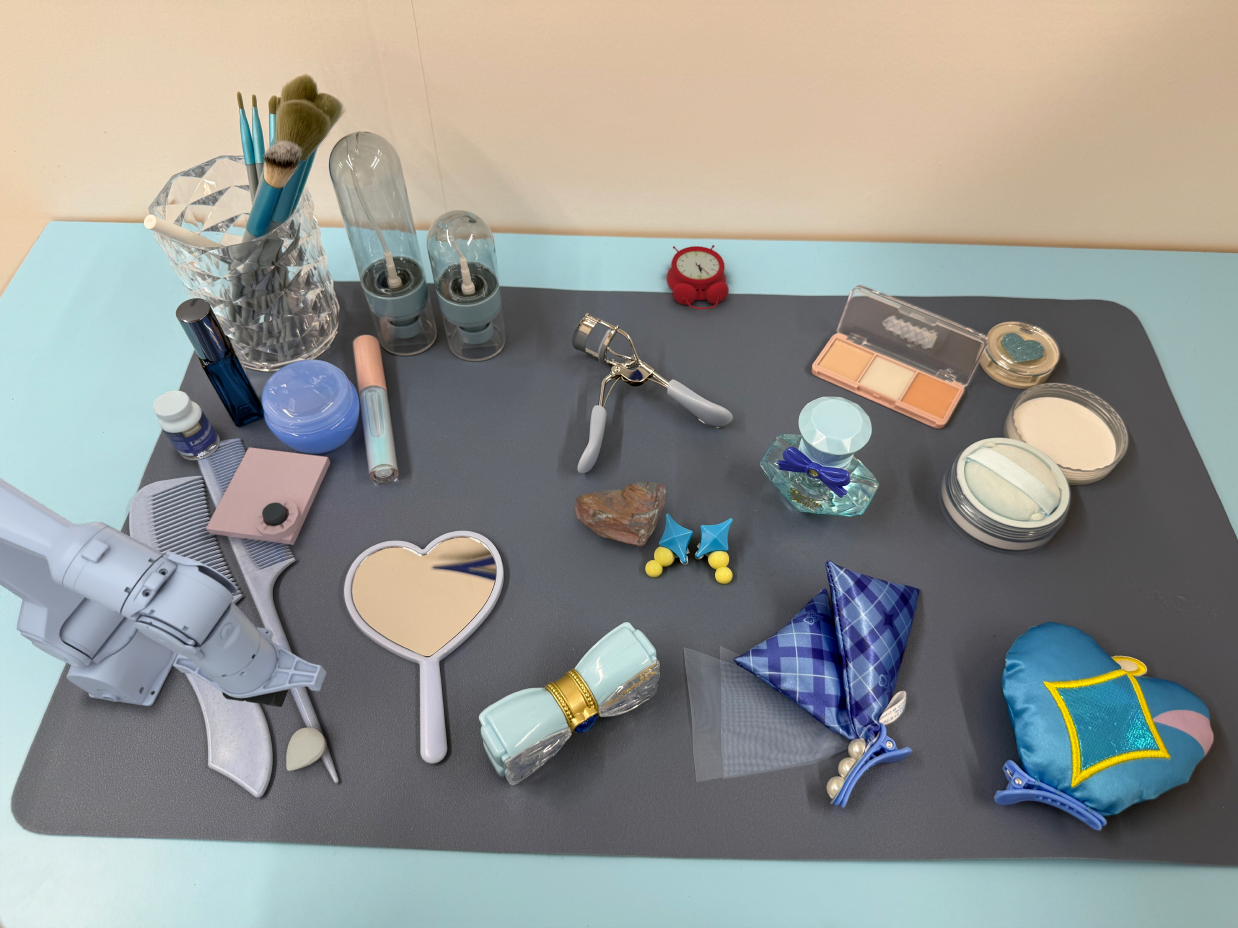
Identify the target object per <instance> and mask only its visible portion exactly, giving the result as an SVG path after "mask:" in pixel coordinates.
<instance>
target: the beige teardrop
mask: <svg viewBox="0 0 1238 928" xmlns="http://www.w3.org/2000/svg"><path fill="white" fill-rule="evenodd" d="M327 744H328V743H327V740H326V738H325V736H324V735H323V734H322V733H321V732H320V731H319V730H318V729H316V728H314V727H309V726H308V727H302V728H300V729H297V730H296V731H295V733H293V734H292V736H291V738H290V739H289V742H288V745H287V749H286V754H285V755H286V759H285V760H286V761H285V763H286V765H285V766H286V767H285V769H286V771H289V772H290V771H294V770H295V771H296V770H299V769H303V768H306V767H308V766H310V765H313V764H314V763H315V762H317V761H318V760H320V759H321V758H322V757H323V755H325V753H326V752H327V747H328V745H327Z"/></svg>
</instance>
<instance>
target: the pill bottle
mask: <svg viewBox="0 0 1238 928" xmlns="http://www.w3.org/2000/svg"><path fill="white" fill-rule="evenodd" d="M152 411H153V412H154V414H155V416H156V418H157V422H158V425H159V427H160V429H161V430H162V431H163V433H164V434H165V436H166V437H167V438H168V440H169V441H170V442H171V444H172V445H173V447H174V448H175V449H176V451H177V452H178V454H179V455H180V456H181V457H182V458H184V459H186V460H188V461H200V460H204V459H206V458H209V457H210V456H212V455H213V454H214V453H215V452H216V451H217V450H218V448H219V445H220V435H219V434H218V433H217V431H216V430H215V428H214V426H213V425H212V423H211V421H210V420H209V418H208V417H207V416H206V414H205V412H204V411H203V409H202V408H201V406H200V405H199V404H198V403H196V402H195V401H193V400H191V398H190V397H189V395H188V394H187V393H186V392H184V391H182V390H170V391H165V392H163V393H161V394H160V395H158V396H157V397H156V398H155V400H154V401H153V404H152ZM214 445H216V446H215V447H214V448H213V449H212V450H211V451H210V452H209V453H207V454H205V455H203V456H200V457H201V459H200V458H199V457H197V456H198V454H200V453H201V452H204V451H208V450H209V449H210V448H211V447H212V446H214ZM202 457H203V458H204V459H203V458H202Z"/></svg>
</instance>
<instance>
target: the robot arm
mask: <svg viewBox="0 0 1238 928" xmlns="http://www.w3.org/2000/svg"><path fill="white" fill-rule="evenodd" d="M0 586H1V587H2V588H4V589H6V590H8V591H9V592H11V593H12V594H14V595H15V596H16V597H18V598H20V599H21V605H20V609H19V614H18V618H17V623H16V630H17V631H18V632H20V636H22V637H24V638H25V639H26V640H28V641H29V642H31V644H32V646H34V647H35V648H37V649H38V650H40V651H42V652H43V653H46V654H47V655H49V656H51V657H53V658H55V659H56V660H57V659H58V660H59V661H61V662H64V663H66V664H69V665H70V668H69V670H68V672H67V674H66V679H67V680H68V681H69V682H70V683H71V684H73V685H75V686H76V687H78V688H80V689H81V690H83V691H84V692H86V693H88V696H89V697H90V698H92V699H97V700H98V699H99V700H103V701H104V700H105V701H110V702H114V703H115V702H116V703H117V702H118V703H123V704H129V705H130V704H131V705H137V706H145V707H151V706H152V705H154V703H155V701H156V699H157V698H158V696H159V694H160V692H161V689H162V687H163V685H164V683H165V681H166V680H167V678H168V675H169V674H170V671H171V670H172V668H173V667H174V668H175V669H176V670H177V671H179V672H180V673H182V674H193V675H194V676H196V677H197V678H199V679H201V680H202V681H204V682H206V683H207V684H209V685H211V686H212V687H214V688H215V689H216V690H219V691H220V692H222V693H221V695H222V696H223V698H225V699H226V700H230V701H237V702H246V703H253V704H259V705H265V706H271V707H276V708H277V707H278V708H282V707H283V705H284V703H285V700H286V697H287V695H288V693H289V690H291V689H296V688H303V687H306V688H308V689H309V690H310V691H315V692H320V691H321V690H322V687H323V683H324V681H325V678H326V676H327V671H326V670H325V669H324V667H323V666H322V665H321V664H315V663H312V662H309V661H307V660H305V659H303V658H301V657H299V656H298V655H296V654H294V653H293V652H290V651H289V650H287V649H286V648H284V647H282V646H280V645H278V644H277V643H275V642H274V641H272V640H273V637H274V632H273V631H272V629H270V628H265V627H256V626H255V625H254V623H253V622H251V620H250V619H249V618H248V616H246V614H244V612H243V611H242V610H241V609H240V608H239V607H238V606H237V605H236V604H235V602H234V600H235V598H234V595H233V594H237V593H238V592H239V589H238V587H237V585H236V584H235V583H234V582H233V581H232V580H231V579H229V578H228V577H227V576H225V575H224V574H222V573H221V572H219V571H218V570H216V569H214V568H213V567H211V566H209V565H207V564H205V563H204V562H200V561H198V560H195V559H194V558H190V557H186V556H182V555H180V554H178V553H175V552H173V551H170V550H167V551H166V552H165V553H163V552H161V551H159V550H157V549H155V548H153V547H151V546H150V545H148V544H145V543H144V542H142V541H140V540H138V539H137V538H134V537H132V536H131V535H128V534H126V533H124V532H123V531H121V530H119V529H117V528H115V527H113V526H111V525H109V524H107V523H105V522H103V521H89V522H82V523H73V522H72V521H70V520H69V519H67V518H66V517H64V516H62V515H60V514H59V513H57V512H56V511H54V510H53V509H51V508H49V507H48V506H47V505H44V504H43V503H41V502H39V501H38V500H37V499H35V498H34V497H32V496H30V495H28V494H27V493H26V492H24V491H22V490H20V489H18V488H17V487H16V486H14V485H12V484H11V483H9V482H8V481H6V480H4V479H3V478H1V477H0Z"/></svg>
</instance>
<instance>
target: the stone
mask: <svg viewBox="0 0 1238 928" xmlns="http://www.w3.org/2000/svg"><path fill="white" fill-rule="evenodd" d="M667 498H668V488H667V486H665V485H664V484H662V483H659V482H655V481H652V482H651V481H646V480H645V481H636V482H635V481H633V482H632V483H630V484H627V485H626V486H624V489H607V490H606V489H605V490H597V491H591V492H586V493H583V494H580V495H578V496H577V497H576V499H575V506H574V507H573V512H574V515H575V517H576V518H577V520H578V521H580V523H582V524H583V525H584V526H586V527H587V528H589V529H590V530H591V531H592V532H593V533H596V535H597V536H599V537H601V538H604V539H609V540H612V541H616V542H621V543H625V544H629V545H633V546H637V547H643V546H645V545H646V543H647V542H648V540H649V538H650V537H651V536H652V534H653V532H654V531H655V530H656V527H657V525H658V523H659V521H660V518H661V517H662V513H663V510H664V509H665V504H666V502H667Z"/></svg>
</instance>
